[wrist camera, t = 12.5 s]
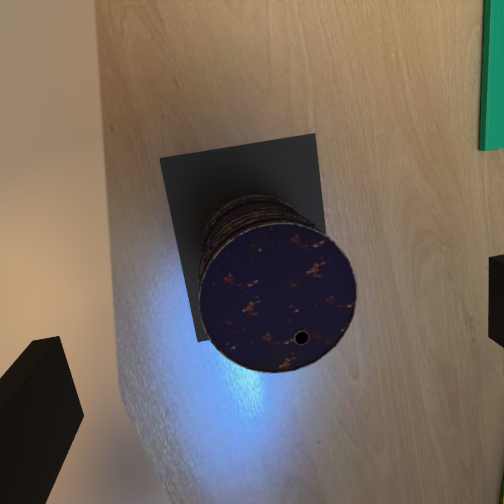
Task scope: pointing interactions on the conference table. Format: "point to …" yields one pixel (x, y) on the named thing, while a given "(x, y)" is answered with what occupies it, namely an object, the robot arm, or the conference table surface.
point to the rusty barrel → (272, 285)
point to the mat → (237, 192)
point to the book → (502, 493)
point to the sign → (493, 78)
